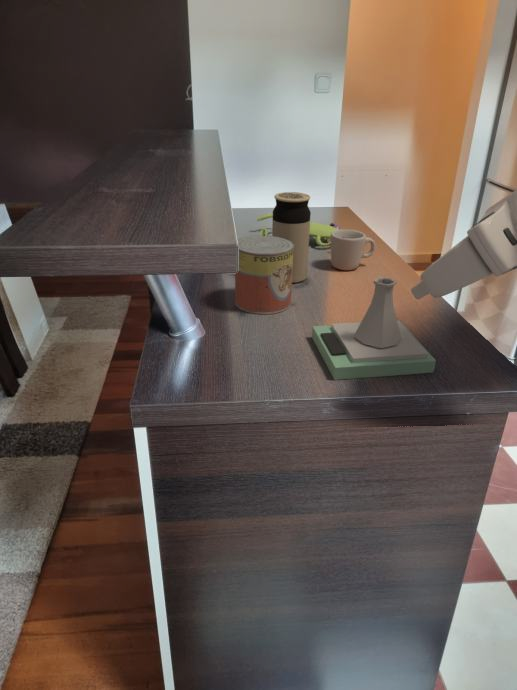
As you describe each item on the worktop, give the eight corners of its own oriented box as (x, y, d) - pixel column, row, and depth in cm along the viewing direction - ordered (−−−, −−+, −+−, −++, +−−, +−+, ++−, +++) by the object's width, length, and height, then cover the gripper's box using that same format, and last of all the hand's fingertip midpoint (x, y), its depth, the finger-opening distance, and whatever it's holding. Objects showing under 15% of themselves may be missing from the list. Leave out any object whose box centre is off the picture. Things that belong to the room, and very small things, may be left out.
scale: (398, 332, 92) (400, 317, 90) (433, 372, 80) (437, 356, 78) (311, 337, 90) (312, 322, 88) (334, 380, 78) (335, 363, 76)
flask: (345, 337, 83) (351, 279, 79) (372, 324, 88) (379, 268, 83) (382, 353, 79) (391, 293, 74) (408, 339, 83) (418, 281, 78)
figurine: (259, 228, 149) (259, 209, 147) (352, 234, 145) (354, 214, 143) (247, 247, 133) (247, 226, 131) (351, 254, 130) (353, 233, 127)
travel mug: (284, 286, 110) (287, 201, 102) (264, 275, 116) (265, 194, 108) (313, 279, 114) (319, 197, 105) (292, 268, 120) (296, 190, 111)
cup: (366, 260, 126) (370, 228, 122) (378, 271, 119) (382, 237, 115) (323, 262, 124) (326, 229, 120) (333, 273, 117) (336, 239, 114)
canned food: (265, 319, 96) (266, 258, 90) (223, 302, 102) (222, 244, 97) (302, 302, 103) (306, 244, 97) (261, 287, 110) (262, 232, 104)
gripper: (533, 194, 70) (451, 247, 80) (471, 227, 57) (383, 285, 67) (559, 233, 69) (473, 281, 80) (502, 275, 56) (409, 326, 67)
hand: (431, 283), depth 73 cm, fingers open, 8 cm apart
